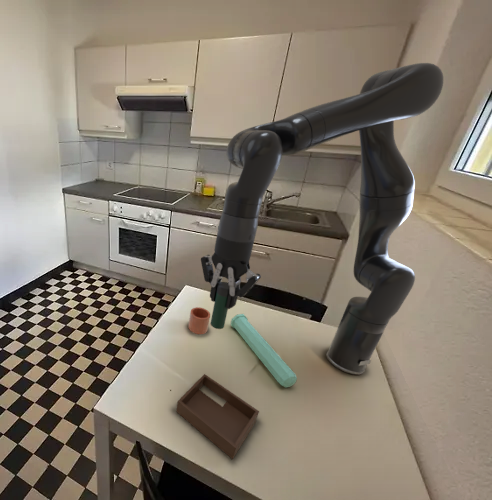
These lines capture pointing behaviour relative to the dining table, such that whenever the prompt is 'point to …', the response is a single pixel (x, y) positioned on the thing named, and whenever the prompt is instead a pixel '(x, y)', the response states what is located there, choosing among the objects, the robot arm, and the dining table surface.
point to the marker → (220, 305)
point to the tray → (218, 415)
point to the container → (264, 351)
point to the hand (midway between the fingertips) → (221, 303)
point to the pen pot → (199, 320)
